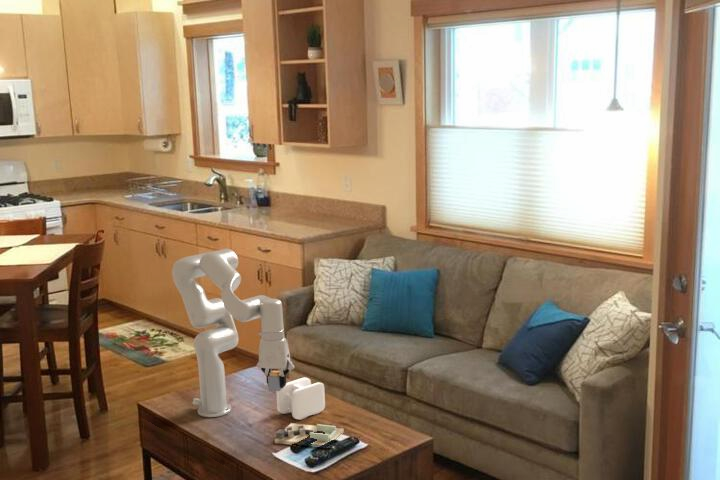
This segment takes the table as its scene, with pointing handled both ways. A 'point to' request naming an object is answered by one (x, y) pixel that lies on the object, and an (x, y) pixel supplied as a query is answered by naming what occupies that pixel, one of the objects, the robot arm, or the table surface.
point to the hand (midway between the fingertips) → (276, 385)
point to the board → (309, 427)
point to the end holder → (325, 429)
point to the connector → (274, 381)
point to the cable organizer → (301, 398)
